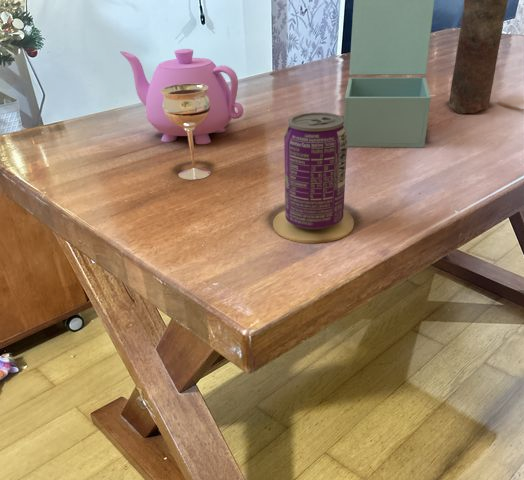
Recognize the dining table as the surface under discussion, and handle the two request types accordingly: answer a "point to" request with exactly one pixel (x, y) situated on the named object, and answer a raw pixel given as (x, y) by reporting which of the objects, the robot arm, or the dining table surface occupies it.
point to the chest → (386, 111)
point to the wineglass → (187, 116)
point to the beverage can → (315, 170)
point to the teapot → (183, 73)
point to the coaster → (312, 236)
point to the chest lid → (390, 37)
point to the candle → (477, 54)
